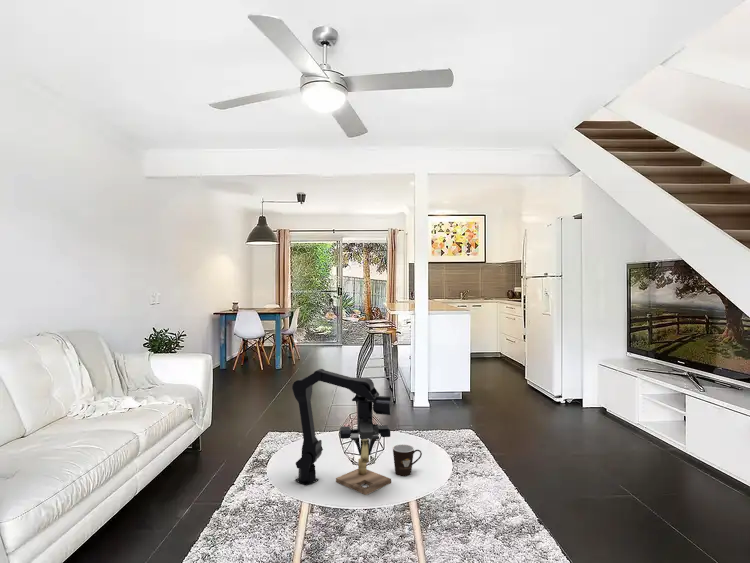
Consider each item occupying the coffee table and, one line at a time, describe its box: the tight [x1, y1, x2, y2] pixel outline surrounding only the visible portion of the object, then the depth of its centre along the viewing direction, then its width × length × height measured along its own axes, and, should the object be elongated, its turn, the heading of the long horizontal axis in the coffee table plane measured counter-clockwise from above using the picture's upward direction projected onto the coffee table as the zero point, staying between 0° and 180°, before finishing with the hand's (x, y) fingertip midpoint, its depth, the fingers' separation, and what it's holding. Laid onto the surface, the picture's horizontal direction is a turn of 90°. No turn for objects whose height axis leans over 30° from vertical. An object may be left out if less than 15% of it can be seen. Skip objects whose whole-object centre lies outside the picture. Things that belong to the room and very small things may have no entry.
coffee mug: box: [392, 444, 423, 477], centre depth 186 cm, size 12×9×10 cm
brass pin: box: [359, 439, 370, 464], centre depth 173 cm, size 3×3×8 cm
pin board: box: [335, 457, 392, 496], centre depth 178 cm, size 16×14×7 cm
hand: (364, 454), depth 173 cm, fingers closed on brass pin, 3 cm apart
